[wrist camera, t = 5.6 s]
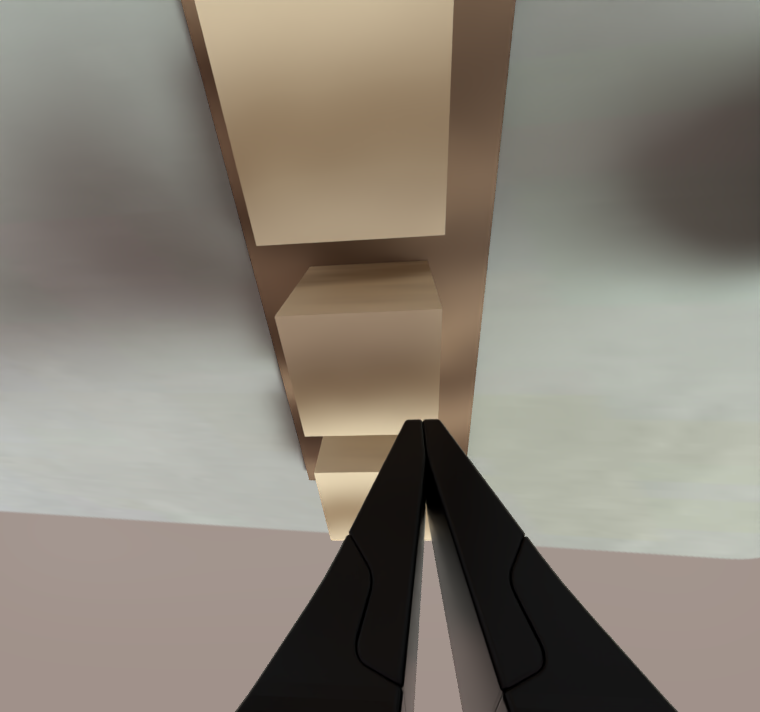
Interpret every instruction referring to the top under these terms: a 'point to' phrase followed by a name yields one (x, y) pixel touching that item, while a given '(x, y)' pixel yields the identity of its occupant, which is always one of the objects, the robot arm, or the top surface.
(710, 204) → the top surface
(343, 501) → the block four
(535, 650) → the robot arm
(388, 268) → the plain block
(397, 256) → the walnut mat
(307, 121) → the block seven
